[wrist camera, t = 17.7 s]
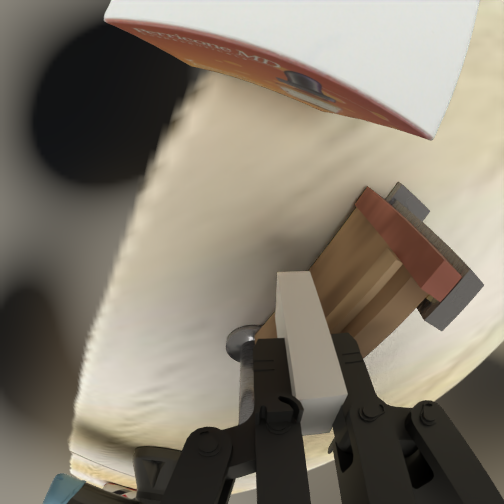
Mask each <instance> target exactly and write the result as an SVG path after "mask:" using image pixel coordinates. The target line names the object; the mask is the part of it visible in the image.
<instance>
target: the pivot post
mask: <svg viewBox="0 0 504 504" xmlns="http://www.w3.org/2000/svg"><path fill="white" fill-rule="evenodd" d="M261 327H262V326H258V325H249V326H243V327H240V328H238V329H236V330H234V331H233V332H231V333H230V335H229V336H228V338H227V341H226V350H227V353H228V354H229V356H230V357H231V358H233V359H234V360H236V361H238V362H240V396H239V425H240V424H242V423H244V422H245V421H247V420H248V419H249V417H250V416H251V415H252V413H253V411H254V381H253V348H254V346H255V334H256V333H257V332H258V331H259V330H260V329H261Z"/></svg>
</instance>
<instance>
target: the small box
mask: <svg viewBox="0 0 504 504" xmlns="http://www.w3.org/2000/svg"><path fill="white" fill-rule="evenodd" d="M479 2H480V0H111V2H110V5H109V7H108V9H107V10H106V13H105V15H104V21H105V22H106V23H109V24H111V25H114V26H116V27H118V28H120V29H123V30H125V31H127V32H129V33H131V34H133V35H135V36H137V37H139V38H141V39H143V40H145V41H147V42H149V43H151V44H153V45H155V46H157V47H158V48H160V49H162V50H164V51H165V52H167V53H169V54H171V55H173V56H174V57H176V58H178V59H180V60H181V61H183V62H185V63H187V64H188V65H190V66H193V67H198V68H202V69H206V70H211V71H215V72H219V73H222V74H226V75H230V76H233V77H236V78H239V79H242V80H245V81H248V82H251V83H254V84H257V85H260V86H262V87H265V88H268V89H270V90H273V91H275V92H278V93H281V94H283V95H286V96H288V97H291V98H293V99H295V100H298V101H300V102H302V103H305V104H307V105H309V106H312V107H314V108H316V109H318V110H320V111H323V112H329V113H335V114H339V115H343V116H348V117H353V118H357V119H362V120H366V121H369V122H372V123H376V124H380V125H383V126H387V127H391V128H394V129H397V130H401V131H404V132H407V133H410V134H413V135H416V136H419V137H422V138H425V139H428V140H433V139H434V137H435V135H436V133H437V131H438V128H439V126H440V124H441V121H442V119H443V117H444V115H445V113H446V110H447V108H448V105H449V103H450V100H451V98H452V95H453V92H454V89H455V87H456V84H457V81H458V78H459V75H460V72H461V69H462V66H463V63H464V60H465V57H466V53H467V50H468V47H469V43H470V39H471V36H472V32H473V28H474V24H475V20H476V15H477V11H478V7H479Z"/></svg>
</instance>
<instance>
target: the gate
mask: <svg viewBox="0 0 504 504" xmlns="http://www.w3.org/2000/svg"><path fill="white" fill-rule="evenodd" d="M354 205H355V206H356V208H355V210H354V211H353V213H352V214H351V215H350V217H349V218H348V219H347V221H346V222H345V223H344V225H343V226H342V227H341V229H340V230H339V231H338V233H337V234H336V235H335V237H334V238H333V239H332V241H331V242H330V243H329V245H328V246H327V247H326V248H325V250H324V251H323V252H322V254H321V255H320V256H319V258H318V259H317V260H316V261H315V263H314V264H313V265H312V266H311V268H310V269H309V270H308V271H310V273H311V276H312V279H313V282H314V285H315V288H316V291H317V294H318V297H319V300H320V303H321V306H322V309H323V312H324V316H325V319H326V322H327V325H328V328H329V332H330V334H337V333H349V334H350V335H351V336H352V337H353V338H354V339H355V340H356V341H357V344H358V346H359V349H360V353H361V354H362V357H363V358H365V357H366V356H367V355H368V354H369V353H370V352H371V351H372V350H374V349H375V348H376V347H377V346H378V345H379V344H380V343H381V342H382V341H383V340H384V339H385V338H387V337H388V336H389V335H390V334H391V333H392V332H393V331H394V330H395V329H396V328H397V327H398V326H399V325H400V324H401V323H402V322H403V321H404V320H405V319H406V318H407V317H408V316H409V315H410V314H411V313H412V312H413V311H414V310H415V308H416V307H417V306H418V305H419V304H420V303H421V302H422V301H423V300H424V299H425V298H426V297H427V295H428V294H429V295H431V296H432V297H434V298H435V299H436V300H438V301H439V302H441V301H442V300H443V299H444V298H445V296H446V295H447V294H448V293H449V292H450V291H451V290H452V288H453V287H454V286H455V285H456V284H457V283H458V281H459V280H460V279H461V278H462V276H461V275H460V274H459V273H458V271H457V270H456V269H455V268H454V267H453V266H452V265H451V264H450V263H449V262H448V260H447V259H446V258H445V257H444V256H443V255H442V254H441V253H440V252H439V251H438V250H437V249H436V248H435V247H434V246H433V245H432V244H431V243H430V242H429V241H428V240H427V239H426V238H425V237H424V236H423V235H422V234H421V233H420V232H419V231H418V230H417V229H416V228H415V227H414V226H413V225H412V224H411V223H410V222H409V221H408V220H407V219H406V218H405V217H404V216H402V215H401V214H400V213H399V212H398V211H397V210H396V209H395V208H394V207H393V206H392V205H390V204H389V203H388V202H387V201H386V200H385V199H383V198H382V197H381V196H380V195H378V194H377V193H376V192H374V191H373V190H372V189H370V188H369V187H368V186H367V188H366V189H365V191H364V192H363V193H362V195H361V196H360V198H359V199H358V200H357V202H356V203H355V204H354ZM266 338H277V329H276V321H275V312H274V313H273V314H272V316H271V317H270V318H269V319H268V320H267V322H266V323H265V324H264V325H263V326H262V327H261V329H260V330H259V331H258V332H257V333H256V334H255V344H256V342H257V340H258V339H266Z"/></svg>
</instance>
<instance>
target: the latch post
mask: <svg viewBox="0 0 504 504" xmlns="http://www.w3.org/2000/svg"><path fill="white" fill-rule="evenodd" d="M386 201H387V202H388V203H389V204H390V205H392V206H393V207H394V208H395V209H396V210H397V211H398V212H399V213H400V214H401V215H402V216H404V217H405V218H406V219H407V220H408V221H409V222H410V223H411V224H412V225H413V226H414V227H415V228H416V229H417V230H418V231H419V232H420V233H421V234H422V235H423V236H424V237H425V238H426V239H427V240H428V241H429V242H430V243H431V244H432V245H433V246H434V247H435V248H436V249H437V250H438V251H439V252H440V253H441V254H442V255H443V256H444V257H445V258H446V259H447V260H448V262H449V263H450V264H451V265H452V266H453V267H454V268H455V269H456V270H457V271H458V273H459V274H460V275H461V276H462V278H461V279H460V280H459V281H458V283H457V284H456V285H455V286H454V287H453V288H452V290H451V291H450V292H449V293H448V294H447V295H446V296H445V298H444V299H443V300H442V301H441V302H439V301H438V300H436V299H435V298H434V297H432V296H431V295H429V294H428V295H427V297H426V298H425V299H424V300H423V301H422V302H421V303H420V304H419V305H418V306H417V307H416V308H417V309H418V311H419V312H420V314H421V316H422V317H423V319H424V321H426V322H428V323H429V324H431V325H433V326H434V327H436V328H437V329H439V330H441V331H443V330H444V329H445V328H446V327H447V326H448V325H449V324H450V323H451V322H452V321H453V320H454V319H455V318H456V317H457V315H458V314H459V313H460V312H461V311H462V310H463V309H464V308H465V307H466V306H467V305H468V304H469V302H470V301H471V300H472V299H473V298H474V297H475V296H476V294H477V293H478V292H479V291H480V290H481V288H482V287H483V286H484V284H483V283H482V282H481V281H480V279H479V278H478V277H477V276H476V275H475V273H474V272H473V271H472V270H471V269H470V268H469V267H468V266H467V265H466V264H465V263H464V262H463V260H462V259H461V258H460V257H459V256H458V255H457V254H456V253H455V252H454V251H453V250H452V249H451V248H450V247H449V246H448V245H447V244H446V243H445V242H443V241H442V240H441V239H440V238H439V237H438V236H437V235H436V234H435V233H434V232H433V231H432V230H431V229H430V228H429V227H427V226H426V225H425V224H424V223H423V222H422V221H423V220H424V219H425V218H426V216H427V215H428V214H429V212H430V210H429V209H428V208H427V207H426V206H425V205H423V204H422V203H421V202H420V201H419V200H418V199H417V198H416V197H415V196H414V195H413V194H412V193H411V192H410V191H409V190H408V189H407V188H406V187H404V186H403V185H402V184H401V183H399V182H398V183H397V185H396V186H395V187H394V189H393V190H392V191H391V193H390V194H389V196H388V197H387V198H386Z"/></svg>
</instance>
